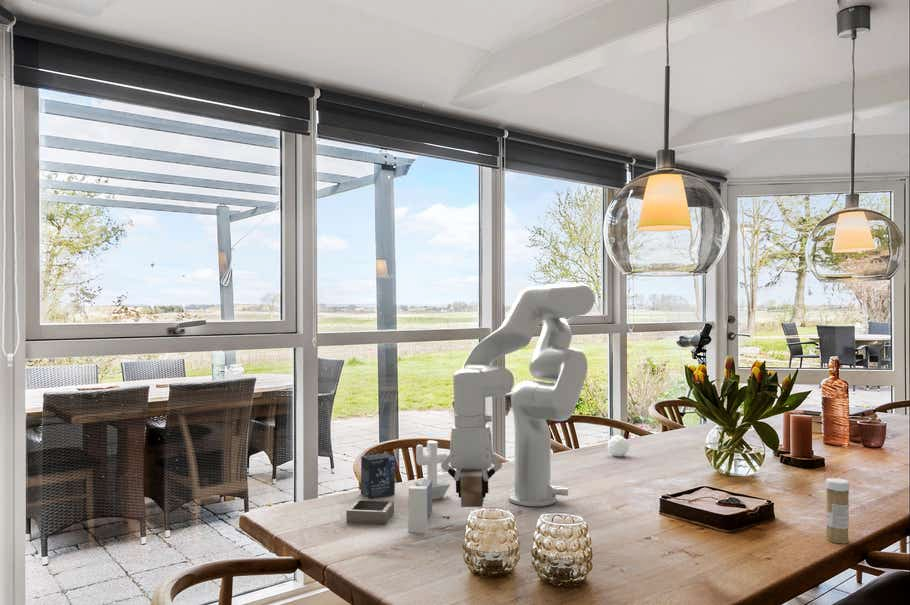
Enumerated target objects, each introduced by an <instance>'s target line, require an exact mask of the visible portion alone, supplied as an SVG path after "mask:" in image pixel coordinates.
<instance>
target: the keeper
mask: <svg viewBox="0 0 910 605" xmlns="http://www.w3.org/2000/svg"><path fill="white" fill-rule="evenodd" d="M394 513H395V500H390V499H389V500H388V499H386V500H385V499H365V498H364V499H362V498H361V499H360V498H357V499H356V500H355V501H354V502H353V503H352V504H351V505H350V506H349V507H348V508H347V510H346V513H345V514H346V524H353V525H356V524H357V525H359V524H360V525H378V526H379V525H381V526H385V525H386V526H387V524H388V522H389V521H390V519H391V518H392V516H393V515H394Z"/></svg>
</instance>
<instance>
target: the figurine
mask: <svg viewBox="0 0 910 605" xmlns="http://www.w3.org/2000/svg"><path fill="white" fill-rule="evenodd" d="M438 446H439V442H438V441H437V440H433V439H431V440H426V452H427V453H425V454H424V447H423V445H422V444H417V445H416V447H415V450H416V451H415V456H416V457H415V458H416V460H415V462H416V464H417V465H418V466H420V467H421V466H422V467H423V466H426V471H427V473H426V479H431V480H432V500H435V499H436V500H437V499H442V498H444V497H445V495H446V493H447V491H448V489H449V487H450V486H451V483H448V482H447V481H444V480H442V479H440V478H438V464H440V470H441V472H443V473H448V472H447V471H445V470H444V469H443V468H442V467H441V465H442V463H443V462H444V460H445V459H446V458H447V457H448V454H447V452H444V451H443V452H442V451H440V452H438V448H439V447H438ZM423 481H424V479H423V480H418V481H413V482H414V486H420V485H421V484H422V482H423Z"/></svg>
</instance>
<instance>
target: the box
mask: <svg viewBox="0 0 910 605" xmlns="http://www.w3.org/2000/svg"><path fill="white" fill-rule="evenodd" d="M360 461H361V464H360V495H362V496H364V497H365V498H367V499H368V500H372V499H374V498H380V497H385V496H394V495H396V493H395V492H396V491H395V490H396V487H395V486H396V456H394V455H392V454H389V453H386V452H384V453H376V454H368V455H362V456H361V460H360Z"/></svg>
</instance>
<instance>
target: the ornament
mask: <svg viewBox="0 0 910 605" xmlns="http://www.w3.org/2000/svg"><path fill="white" fill-rule="evenodd" d="M609 438H610V439H609V440H608V441H607V446H606V447H607V450H608V451H609V453H610V454H612V456H613V457H618V458H621V457H623V456H626V454H627V453H628V452H629V449H630V443H629V442H628V440H627V439H626V438H625V437H624V436H622V435H614V436H612V435H610V436H609Z"/></svg>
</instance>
